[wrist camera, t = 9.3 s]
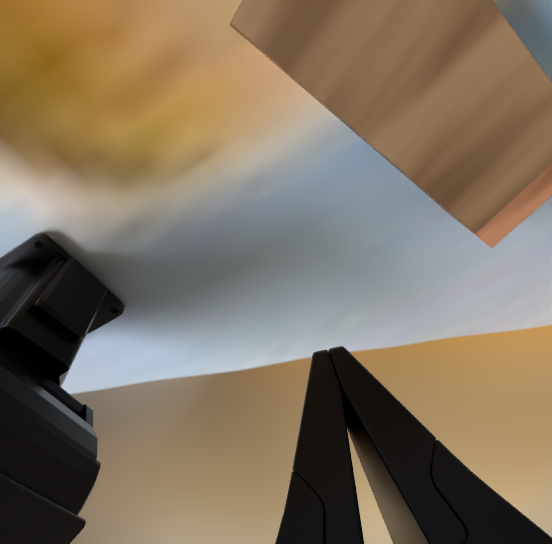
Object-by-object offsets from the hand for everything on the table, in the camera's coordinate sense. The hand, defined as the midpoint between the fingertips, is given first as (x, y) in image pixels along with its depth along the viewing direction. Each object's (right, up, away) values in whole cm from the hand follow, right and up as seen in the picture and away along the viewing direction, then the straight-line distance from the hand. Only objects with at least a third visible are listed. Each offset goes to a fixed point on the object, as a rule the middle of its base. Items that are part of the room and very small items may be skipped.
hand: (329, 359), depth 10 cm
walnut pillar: (+11, +7, +9) cm, 16 cm away
